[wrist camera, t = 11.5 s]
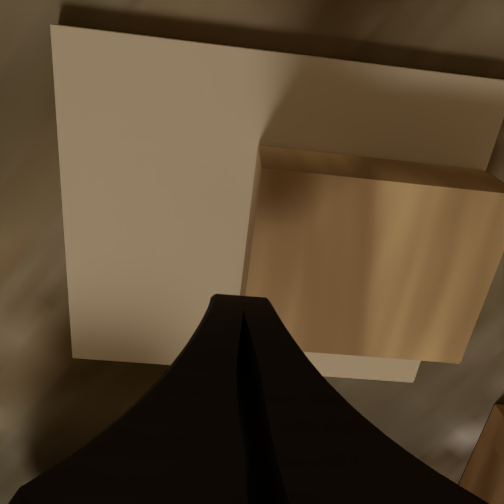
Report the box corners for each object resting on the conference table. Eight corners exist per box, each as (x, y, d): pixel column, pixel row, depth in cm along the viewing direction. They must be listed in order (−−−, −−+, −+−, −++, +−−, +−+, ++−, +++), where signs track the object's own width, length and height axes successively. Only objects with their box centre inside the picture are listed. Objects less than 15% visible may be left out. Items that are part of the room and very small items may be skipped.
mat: (77, 348, 19) (72, 357, 19) (57, 24, 14) (50, 24, 13) (408, 373, 20) (413, 382, 20) (506, 79, 15) (516, 81, 14)
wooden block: (239, 346, 15) (459, 363, 16) (261, 167, 13) (525, 195, 13) (239, 302, 18) (430, 318, 18) (257, 144, 15) (480, 168, 16)
